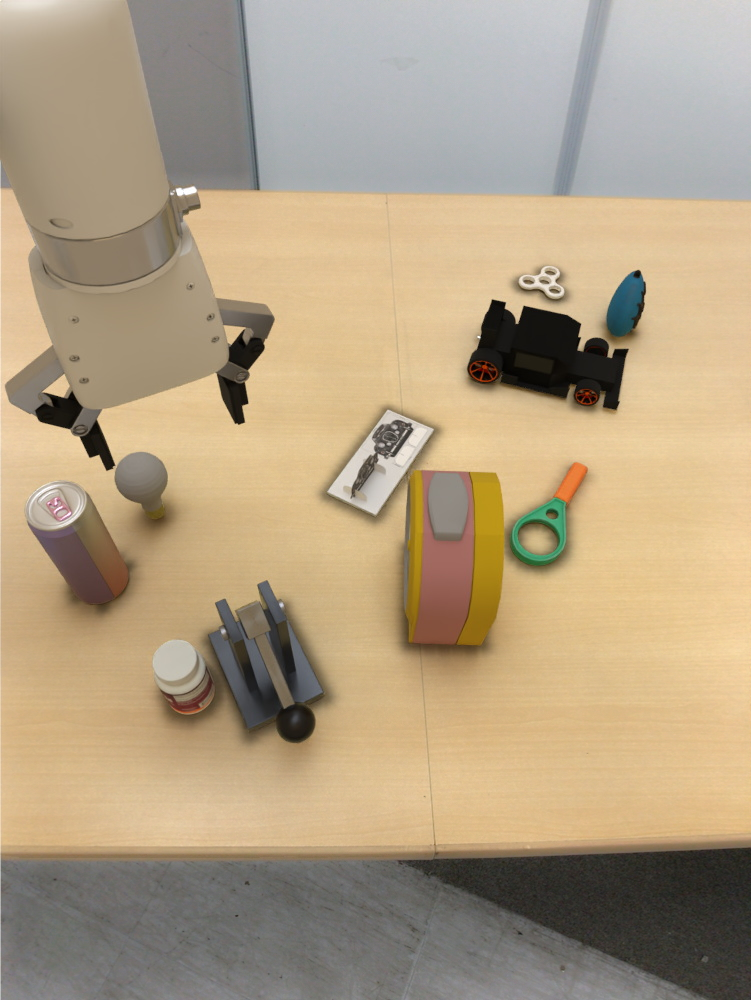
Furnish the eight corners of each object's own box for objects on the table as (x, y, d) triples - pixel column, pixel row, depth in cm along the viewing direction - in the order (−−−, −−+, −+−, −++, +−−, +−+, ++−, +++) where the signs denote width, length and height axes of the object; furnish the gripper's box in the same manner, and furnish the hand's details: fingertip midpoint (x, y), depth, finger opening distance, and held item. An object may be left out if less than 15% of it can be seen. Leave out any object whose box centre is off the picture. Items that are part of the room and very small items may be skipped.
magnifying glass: (548, 575, 82) (552, 568, 81) (499, 550, 84) (502, 542, 82) (601, 483, 89) (605, 474, 88) (555, 461, 91) (558, 452, 90)
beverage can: (91, 617, 78) (40, 543, 66) (64, 579, 81) (10, 501, 68) (140, 584, 80) (100, 506, 68) (112, 549, 83) (69, 467, 71)
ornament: (630, 352, 102) (653, 294, 94) (596, 343, 103) (616, 285, 95) (639, 314, 107) (661, 256, 99) (607, 306, 108) (627, 248, 100)
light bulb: (141, 492, 88) (118, 438, 79) (186, 498, 87) (167, 444, 79) (126, 531, 84) (100, 479, 76) (172, 537, 84) (152, 485, 76)
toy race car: (614, 414, 96) (631, 374, 90) (464, 379, 99) (470, 338, 93) (624, 360, 101) (640, 319, 95) (481, 328, 105) (488, 286, 99)
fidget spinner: (551, 267, 112) (552, 262, 112) (578, 291, 109) (579, 286, 109) (514, 282, 110) (515, 277, 110) (541, 307, 107) (542, 302, 107)
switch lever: (317, 727, 69) (325, 736, 65) (282, 745, 68) (288, 754, 64) (263, 596, 69) (267, 598, 65) (226, 612, 68) (229, 614, 64)
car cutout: (375, 517, 86) (376, 494, 82) (326, 494, 88) (325, 471, 84) (433, 431, 94) (436, 407, 90) (387, 411, 95) (388, 387, 92)
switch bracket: (324, 696, 74) (318, 643, 63) (249, 733, 71) (230, 684, 61) (280, 607, 79) (268, 545, 69) (209, 639, 77) (185, 579, 66)
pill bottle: (162, 680, 74) (141, 646, 67) (208, 662, 76) (192, 627, 69) (174, 723, 72) (154, 692, 65) (221, 704, 73) (207, 672, 66)
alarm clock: (403, 535, 85) (411, 431, 70) (474, 538, 85) (499, 434, 70) (401, 658, 76) (411, 570, 61) (481, 661, 76) (511, 573, 61)
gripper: (233, 156, 44) (263, 363, 58) (-73, 230, 40) (39, 437, 54) (281, 225, 41) (301, 429, 55) (-51, 316, 36) (64, 514, 50)
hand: (171, 432), depth 54 cm, fingers open, 9 cm apart
